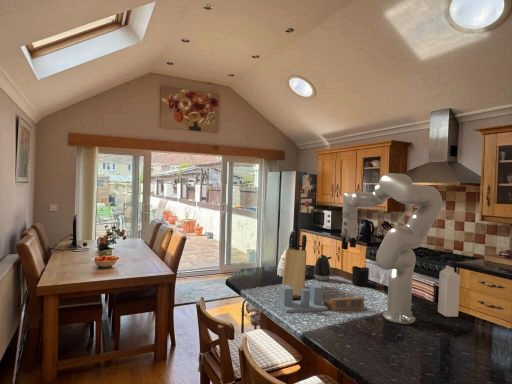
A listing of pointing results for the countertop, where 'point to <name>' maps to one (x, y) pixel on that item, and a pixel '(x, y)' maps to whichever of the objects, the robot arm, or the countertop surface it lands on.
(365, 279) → the pen holder
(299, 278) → the knife block
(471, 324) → the countertop surface
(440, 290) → the milk
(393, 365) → the countertop surface
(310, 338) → the countertop surface
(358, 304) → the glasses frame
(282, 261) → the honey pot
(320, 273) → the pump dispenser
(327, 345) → the countertop surface
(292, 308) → the gray blocky stand
